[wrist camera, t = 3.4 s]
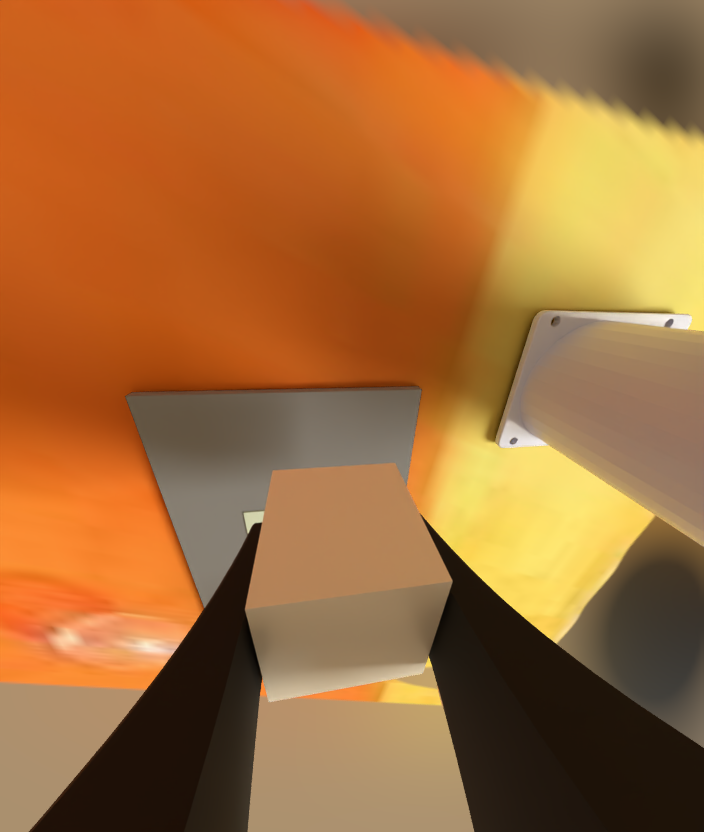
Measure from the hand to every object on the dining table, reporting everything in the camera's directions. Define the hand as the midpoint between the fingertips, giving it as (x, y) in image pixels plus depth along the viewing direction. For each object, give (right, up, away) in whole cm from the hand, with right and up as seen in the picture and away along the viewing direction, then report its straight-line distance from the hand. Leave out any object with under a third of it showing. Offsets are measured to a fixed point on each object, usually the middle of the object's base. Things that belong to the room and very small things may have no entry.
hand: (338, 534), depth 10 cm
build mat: (-3, -4, +8) cm, 10 cm away
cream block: (0, 0, +1) cm, 1 cm away
